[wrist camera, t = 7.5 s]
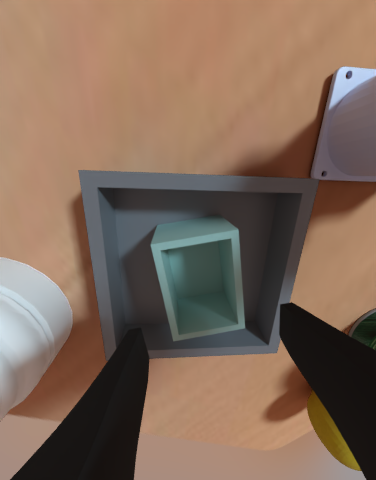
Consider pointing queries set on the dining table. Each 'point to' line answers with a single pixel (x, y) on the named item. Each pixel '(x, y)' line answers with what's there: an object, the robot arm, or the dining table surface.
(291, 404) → the dining table surface
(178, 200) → the charcoal crate
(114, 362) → the robot arm
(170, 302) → the teal crate
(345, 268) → the dining table surface
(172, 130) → the dining table surface
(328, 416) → the lemon
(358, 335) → the canned tomato
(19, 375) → the honey pot
